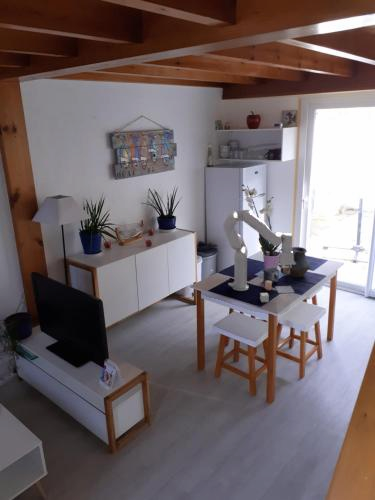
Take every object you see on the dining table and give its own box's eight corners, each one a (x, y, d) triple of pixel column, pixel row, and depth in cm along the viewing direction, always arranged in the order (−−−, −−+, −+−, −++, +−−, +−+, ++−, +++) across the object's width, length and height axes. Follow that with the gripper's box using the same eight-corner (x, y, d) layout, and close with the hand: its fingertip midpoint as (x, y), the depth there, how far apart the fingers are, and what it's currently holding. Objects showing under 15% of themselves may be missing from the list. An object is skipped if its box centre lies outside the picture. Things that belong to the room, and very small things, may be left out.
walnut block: (283, 274, 308) (283, 268, 306) (281, 272, 313) (281, 266, 311) (289, 274, 308) (290, 268, 306) (288, 271, 313) (288, 265, 311)
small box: (266, 284, 327) (267, 271, 323) (263, 281, 333) (263, 268, 329) (278, 282, 329) (279, 270, 326) (274, 279, 335) (275, 267, 332)
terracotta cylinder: (265, 290, 315) (265, 283, 313) (264, 287, 320) (264, 280, 318) (272, 290, 315) (272, 282, 313) (270, 287, 320) (271, 280, 318)
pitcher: (313, 274, 342) (315, 246, 334) (303, 283, 326) (304, 253, 318) (289, 269, 354) (291, 242, 346) (279, 277, 337) (280, 249, 329)
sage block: (261, 302, 296) (261, 296, 295) (260, 299, 301) (260, 293, 299) (268, 302, 296) (268, 295, 295) (267, 299, 301) (267, 292, 299)
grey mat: (278, 293, 309) (278, 292, 309) (275, 287, 320) (275, 286, 320) (294, 292, 309) (294, 292, 309) (290, 286, 321) (290, 285, 320)
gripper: (276, 252, 301) (275, 275, 307) (299, 250, 301) (298, 273, 307) (274, 248, 308) (273, 271, 314) (296, 247, 308) (295, 270, 314)
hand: (285, 272), depth 310 cm, fingers closed on walnut block, 4 cm apart
